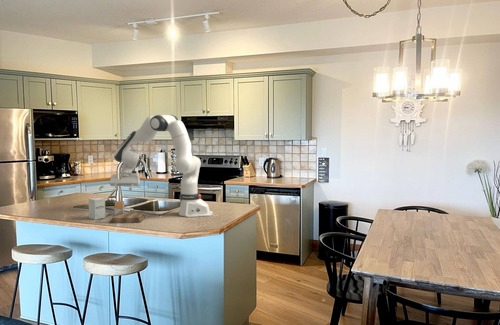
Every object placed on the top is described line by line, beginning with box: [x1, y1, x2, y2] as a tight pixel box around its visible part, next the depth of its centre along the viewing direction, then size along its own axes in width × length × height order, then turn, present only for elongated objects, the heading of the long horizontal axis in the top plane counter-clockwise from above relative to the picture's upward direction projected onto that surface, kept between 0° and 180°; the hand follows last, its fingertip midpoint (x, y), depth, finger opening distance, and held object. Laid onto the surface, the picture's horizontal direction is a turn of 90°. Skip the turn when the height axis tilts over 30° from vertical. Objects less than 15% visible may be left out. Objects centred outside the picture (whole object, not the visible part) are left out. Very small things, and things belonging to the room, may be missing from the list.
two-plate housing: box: [114, 200, 125, 216], centre depth 247 cm, size 5×4×9 cm
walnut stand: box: [109, 212, 146, 224], centre depth 234 cm, size 18×16×3 cm
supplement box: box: [88, 197, 106, 220], centre depth 238 cm, size 7×7×13 cm
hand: (123, 190), depth 258 cm, fingers open, 8 cm apart
